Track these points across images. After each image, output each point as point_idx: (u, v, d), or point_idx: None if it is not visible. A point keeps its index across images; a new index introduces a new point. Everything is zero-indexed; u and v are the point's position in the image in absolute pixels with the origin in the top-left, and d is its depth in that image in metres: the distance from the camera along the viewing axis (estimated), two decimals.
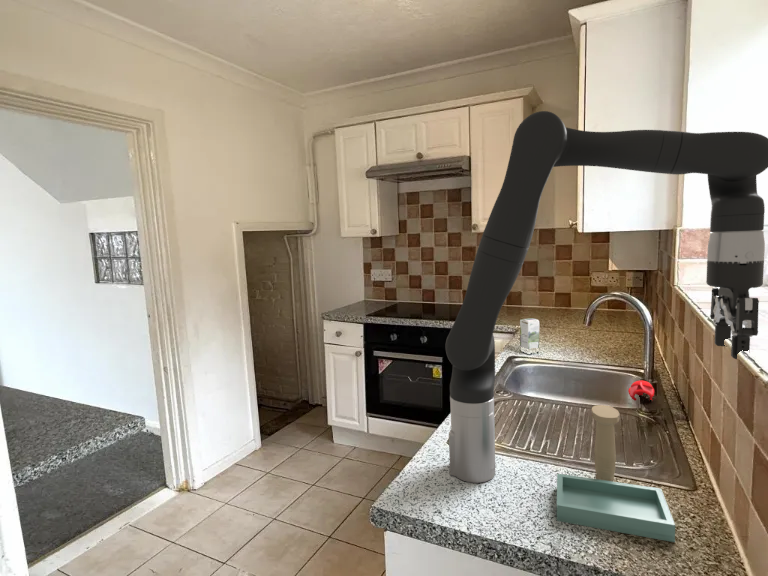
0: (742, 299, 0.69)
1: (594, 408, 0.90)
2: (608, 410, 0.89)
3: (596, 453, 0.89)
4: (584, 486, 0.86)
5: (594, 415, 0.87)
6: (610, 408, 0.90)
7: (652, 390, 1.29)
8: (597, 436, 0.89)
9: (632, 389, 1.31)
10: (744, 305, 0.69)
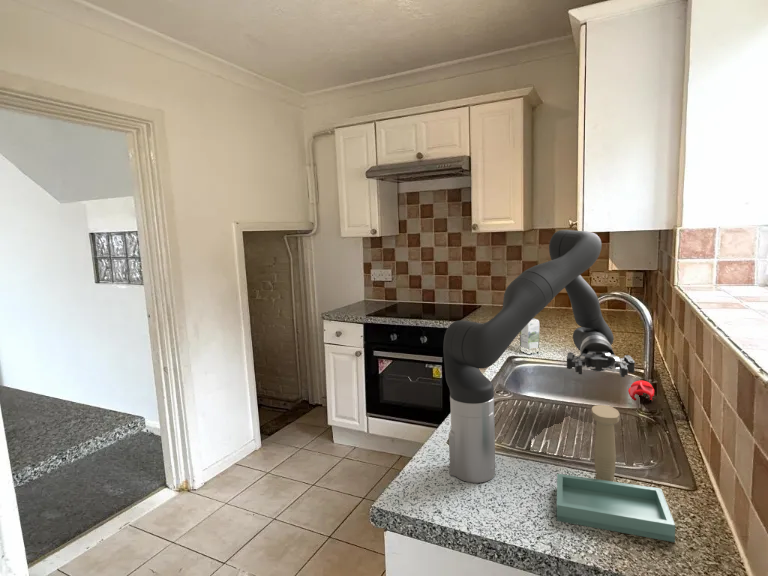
0: None
1: (594, 408, 0.90)
2: (608, 410, 0.89)
3: (596, 453, 0.89)
4: (584, 486, 0.86)
5: (594, 415, 0.87)
6: (610, 408, 0.90)
7: (652, 390, 1.29)
8: (597, 436, 0.89)
9: (632, 389, 1.31)
10: None
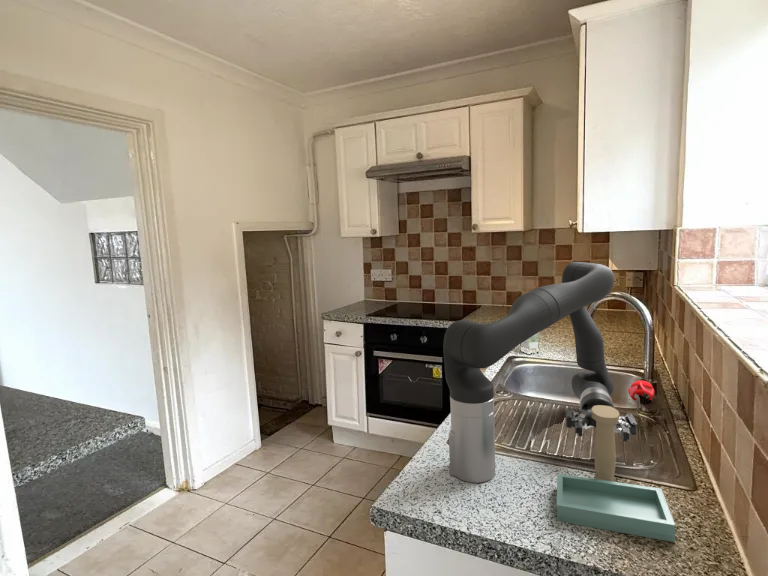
0: None
1: (594, 408, 0.90)
2: (608, 410, 0.89)
3: (596, 453, 0.89)
4: (584, 486, 0.86)
5: (594, 415, 0.87)
6: (610, 408, 0.90)
7: (652, 390, 1.29)
8: (597, 436, 0.89)
9: (632, 389, 1.31)
10: None
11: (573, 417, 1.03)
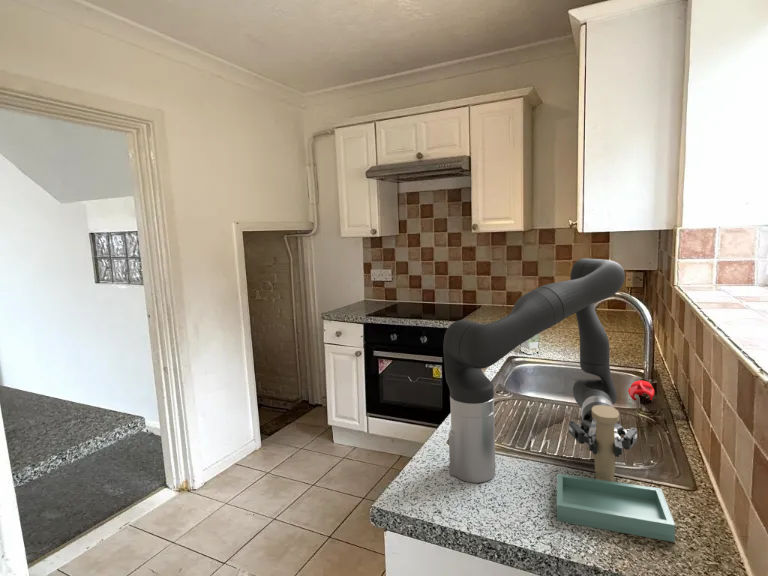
0: (636, 430, 0.93)
1: (594, 408, 0.90)
2: (608, 410, 0.89)
3: None
4: (584, 486, 0.86)
5: (594, 415, 0.87)
6: (610, 408, 0.90)
7: (652, 390, 1.29)
8: (597, 436, 0.89)
9: (632, 389, 1.31)
10: (636, 433, 0.92)
11: None
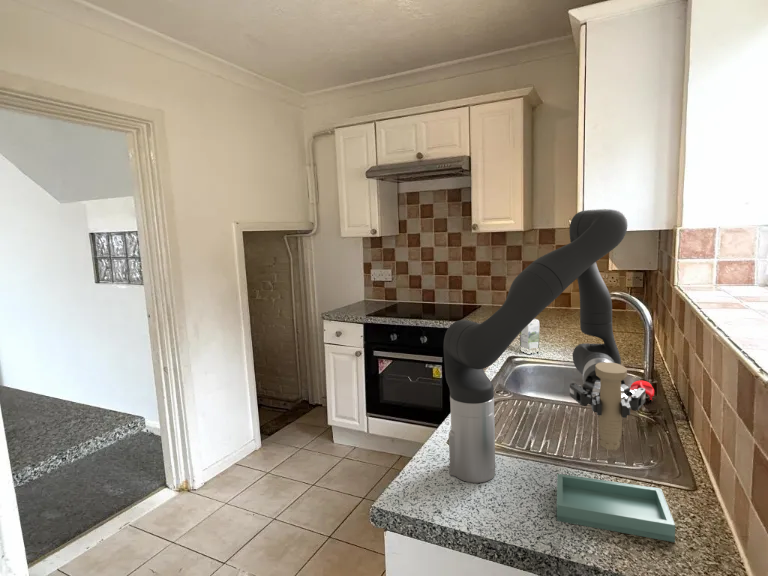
0: None
1: (598, 365, 0.80)
2: (614, 366, 0.79)
3: (600, 415, 0.79)
4: (584, 486, 0.86)
5: (599, 371, 0.78)
6: (616, 365, 0.80)
7: (652, 390, 1.29)
8: (602, 395, 0.79)
9: (632, 389, 1.31)
10: (644, 393, 0.82)
11: None
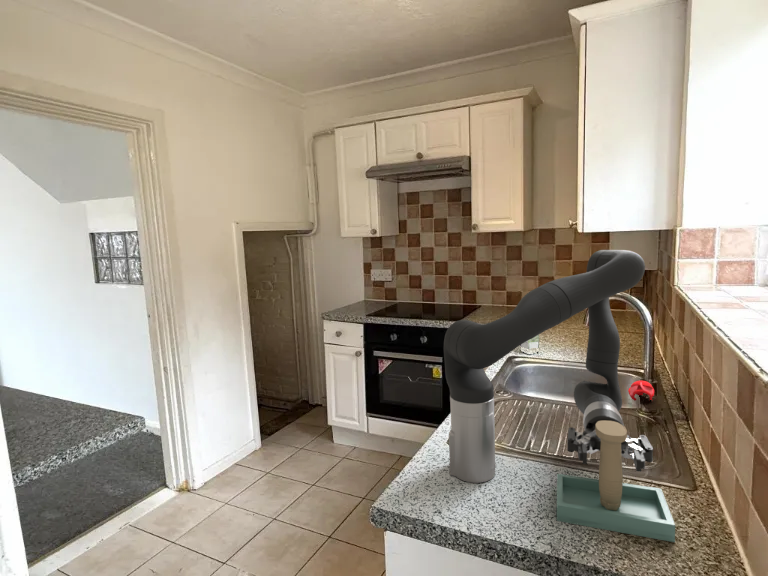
0: None
1: (598, 424, 0.80)
2: (614, 427, 0.79)
3: (601, 475, 0.79)
4: (584, 486, 0.86)
5: (599, 432, 0.78)
6: (616, 424, 0.80)
7: (652, 390, 1.29)
8: (602, 456, 0.79)
9: (632, 389, 1.31)
10: None
11: (576, 439, 0.87)
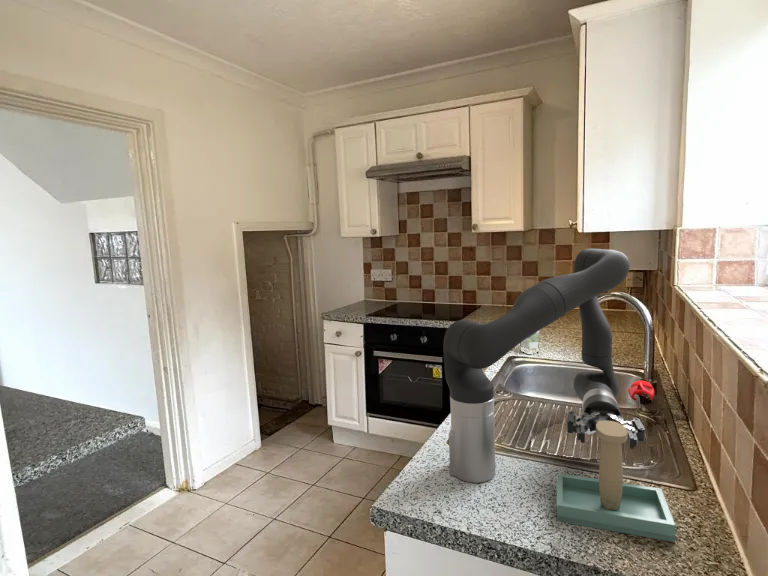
0: None
1: (599, 424, 0.80)
2: (615, 427, 0.79)
3: (601, 475, 0.79)
4: (584, 486, 0.86)
5: (599, 432, 0.78)
6: (617, 424, 0.80)
7: (652, 390, 1.29)
8: (602, 456, 0.79)
9: (632, 389, 1.31)
10: None
11: (575, 421, 0.95)
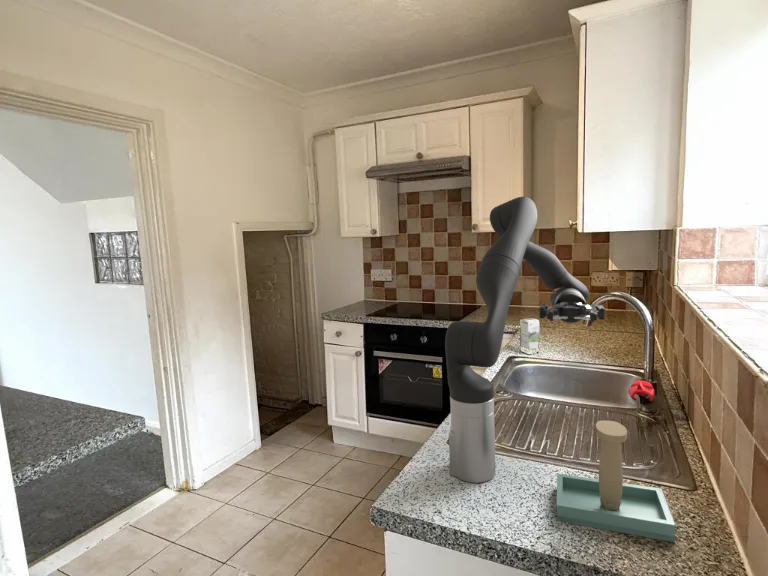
0: None
1: (598, 424, 0.80)
2: (615, 427, 0.79)
3: (601, 475, 0.79)
4: (584, 486, 0.86)
5: (599, 432, 0.78)
6: (616, 424, 0.80)
7: (652, 390, 1.29)
8: (602, 456, 0.79)
9: (632, 389, 1.31)
10: None
11: None
